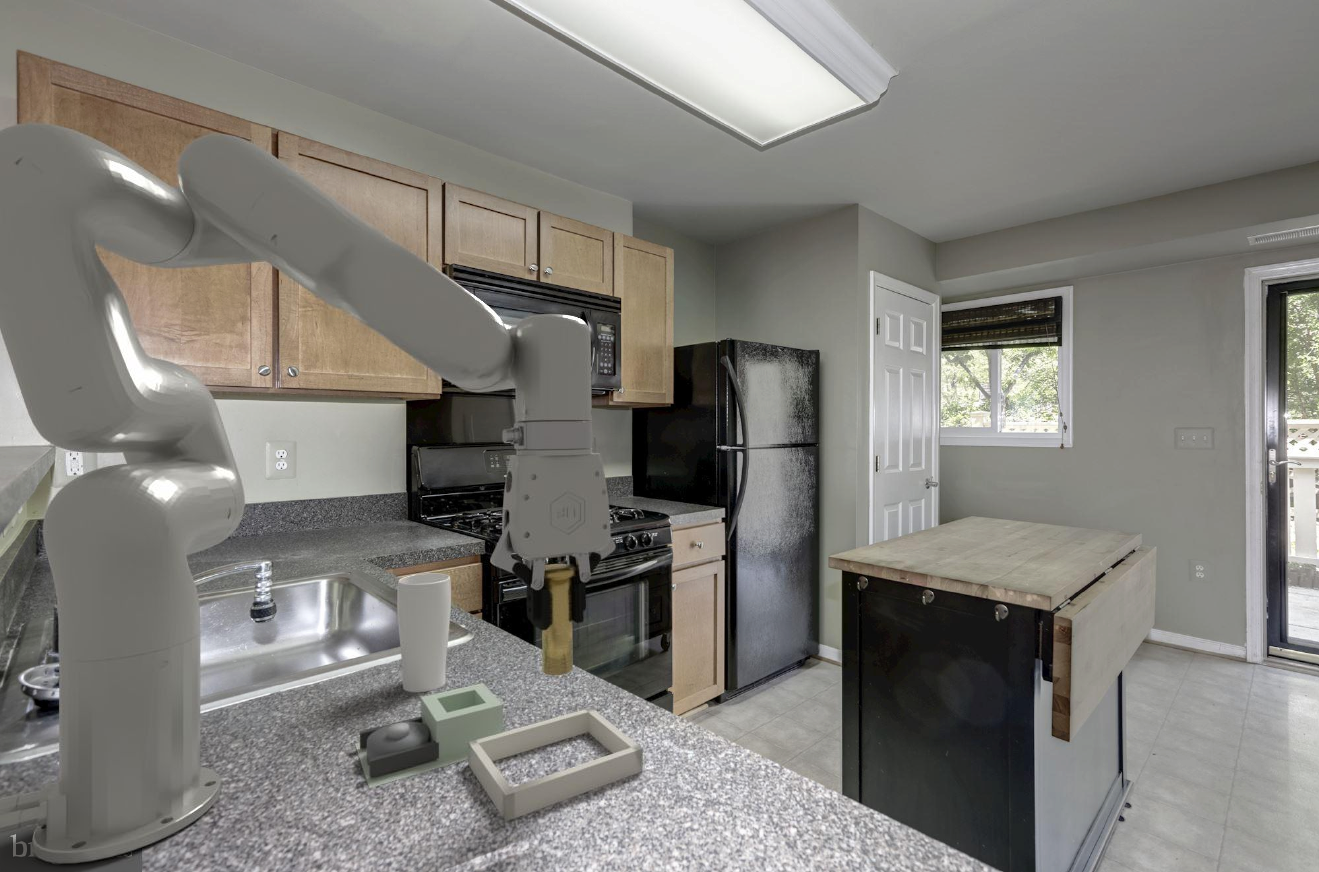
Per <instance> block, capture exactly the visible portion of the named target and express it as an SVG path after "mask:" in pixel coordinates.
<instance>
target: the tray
mask: <svg viewBox="0 0 1319 872" xmlns="http://www.w3.org/2000/svg"><path fill="white" fill-rule="evenodd" d="M586 733H589V735H591V736H592V737H594V739H596V740H597V741H598V742H599V743H600V744H601V745H603V746H604V747H605V748H606V749H607V750H608V751H609V752H610V753H611V754H608V755H605V756H602V757H600V758H596V759H593V760H590V761H587V762H584V763H581V764H579V765H576V766H573V767H569V768H566V769H563V770H561V771H558V772H555V773H551V774H549V775H546V776H543V777H540V778H538V779H534V780H530V781H528V782H525V783H521V784H518V785H516V786H512V787H511V785H510V784H509V783H508V782H507V780H506V779H505V777H504V776H503V775H502V773H501V772H500V770H499V769H498V768H497V766H496V765H495V764H494V762H495V761H498V760H502V759H504V758H508V757H512V756H514V755H517V754H520V753H524V752H528V751H531V750H534V749H538V748H541V747H544V746H547V745H550V744H553V743H554V744H555V743H557V742H560V741H563V740H567V739H569V738H574V737H576V736H580V735H583V734H586ZM643 753H644V752H643V748H642V747H641V746H640V745H639V744H638V743H636V742H635V741H634V740H633V739H632V738H631V737H629V736H628V735H626V734H625V733H624V732H623V731H622V730H620V729H619V728H618V727H617V726H615V725H614V724H613V723H611V722H610V721H609V720H607V719H606V718H605V717H604V716H603V715H601V714H600V713H599V712H597V711H596V709H594V708H593V707H588V708H586V709H581V710H578V711H575V712H572V713H568V714H564V715H561V716H556V717H554V718H550V719H545V720H543V721H539V722H536V723H535V722H534V723H531V724H529V725H525V726H521V727H517V728H513V729H511V730H507V731H503V733H499V734H496V735H492V736H489V737H485V738H482V739H478V740H474V741H471V742H468V759H467V761H468V762H467V763H468V766H469V768H470V769H471V771H472V772H473V774H474V775H475V777H476V778H477V780H478V782H479V783H480V784H481V787H483V789H484V790H485V793H486V794H487V795H488V797H489V798H490V800H491V801H492V803H493V804H494V806H495V808H496V809H497V810H498V812H499V813H500V816H501V817H502V818H503V820H504V821H505V822H508V821H511V820H515V819H516V818H519V817H522V816H524V815H527V814H530V813H533V812H535V811H538V810H540V809H544V808H546V807H548V806H552V805H554V804H557V803H560V802H562V801H565V800H569V799H570V798H573V797H576V796H579V795H582V794H584V793H587V792H590V791H593V790H596V789H599V788H601V787H604V786H606V785H609V784H611V783H614V782H617V781H620V780H623V779H625V778H628V777H631V776H633V775H636V774H639V773H642V772H643V771H644V767H643V764H644V763H643V759H644V758H643V755H644V754H643Z"/></svg>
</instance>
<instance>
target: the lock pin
mask: <svg viewBox="0 0 1319 872" xmlns="http://www.w3.org/2000/svg"><path fill="white" fill-rule="evenodd" d="M574 576H575V566H574V565H570V564H567V563H554V564H553V563H552V564H545V573H544V588H546V589H548V590H549V622H550V626H549V628H548V629H547V630H541V645H542V647H541V649H542V651H541V653H542V655H541V656H542V661H541V663H542V673H544V674H546V675H550V676H561V675H565V674H568V673H570V672H572V670H574V667H573V665H574V662H573V661H574V658H573V656H574V653H573V649H574V648H573V621H572V577H574Z"/></svg>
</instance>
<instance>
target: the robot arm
mask: <svg viewBox="0 0 1319 872" xmlns="http://www.w3.org/2000/svg"><path fill="white" fill-rule="evenodd" d="M176 174H177V175H176V176H177V180H178V185H170V184H168V183H166V182H165V181H163V180H162V179H160V178H159V177H158V176H156V175H154V174H152V172H149V171H148V170H146V169H145V168H144V167H142V166H141V165H139V163H136V162H135V161H133V160H132V159H130V158H129V157H128V156H125V155H124V154H123V153H121V152H119V151H118V150H116V149H114V148H112V146H110V145H107V144H105V143H104V142H102V141H100V140H98V139H96V138H94V137H92V136H90V135H87V134H85V133H83V132H80V131H78V130H75V129H72V128H68V127H64V126H61V125H57V124H54V123H53V124H50V123H43V122H25V123H17V124H14V125H11V126H7V127H6V128H3V129H1V130H0V334H1V337H2V340H3V342H4V345H5V348H6V351H7V354H8V357H9V360H10V363H11V366H12V370H13V372H14V375H15V378H16V381H17V384H18V387H19V390H20V394H21V395H22V399H23V402H24V405H25V408H26V412H27V413H28V416H29V418H30V421H31V423H32V424H33V425H34V428H36V431H37V432H38V434H39V435H40V436H41V437H42V438H43V439H44V440H45V441H47V442H49V443H50V444H51V445H53V446H54V447H57V448H60V449H63V450H66V451H71V452H77V453H91V454H99V453H100V454H101V453H103V454H107V453H108V454H112V453H113V454H115V453H116V454H118V453H122V454H123V457H124V460H125V462H126V463H121V464H114V465H109V466H103V467H100V468H96V469H93V470H90V471H88V472H86V473H83V474H81V475H79V476H77V477H76V478H74V479H72V480H71V481H69V482H68V483H67V484H65V485H63V487H62V488H61V489H60V490H59V491H57V492H56V494H55V495H54V497H53V498H52V499H51V501H50V502H49V504H48V506H47V509H46V510H45V513H44V518H43V525H42V536H43V545H44V548H45V553H46V556H47V559H48V563H49V567H50V571H51V575H52V578H53V584H54V588H55V596H56V602H57V604H56V605H57V618H58V621H57V622H58V658H59V660H58V662H59V663H58V665H59V666H58V667H59V668H58V670H59V671H58V672H59V673H58V674H59V675H58V682H59V683H58V684H59V685H58V689H59V690H58V693H59V696H58V706H59V707H58V709H59V711H58V719H59V720H58V723H59V724H58V725H59V726H58V733H59V734H58V735H59V736H58V778H57V780H56V781H53V782H50V783H44V785H43V786H42V788H41V789H38V790H34V791H30V792H26V793H16V794H12V795H8V796H7V795H6V796H3V797H0V834H3V833H6V832H7V833H8V832H10V831H14V830H18V829H21V828H23V827H27V826H31V825H35V824H37V827H36V828H35V830H34V831H33V834H32V841H31V842H32V853H33V854H34V855H35V856H36V858H38V859H41V860H43V861H44V862H48V863H54V864H55V863H56V864H79V863H87V862H94V861H99V860H103V859H108V858H113V857H115V856H116V857H117V856H119V855H123V854H126V853H130V852H132V851H135V850H138V849H140V848H143V847H146V846H149V845H151V844H154V843H156V842H158V841H160V840H162V839H165V838H168V837H169V836H171V835H173V834H175V833H177V832H179V831H180V830H182V829H184V828H185V827H187V826H188V825H190V824H192V823H194V822H195V821H197V819H199V818H201V817H202V816H203V815H204V814H206V813H207V812H208V811H209V809H210V808H212V806H213V805H215V803H216V802H217V800H218V799H219V797H220V795H221V790H222V786H221V785H222V784H221V777H220V775H219V774H218V772H216V771H215V770H213V769H211V768H208V767H204V766H201V609H200V608H201V607H200V599H199V594H198V589H197V586H196V583H195V582H196V581H195V580H194V577H193V575H192V572H191V569H190V566H189V563H188V557H187V556H189V555H193V554H196V553H199V552H202V551H204V550H208V549H210V548H212V547H214V546H215V547H216V545H219V544H220V543H223V542H224V541H225V540H226V539H228V537H229V538H230V536H231V535H232V534H233V533H234V532H235V531H236V529H237V528H238V527H239V525H240V524H241V521H242V519H243V516H244V513H245V507H246V506H245V505H246V500H245V490H244V487H243V486H244V485H243V482H242V478H241V475H240V472H239V469H238V466H237V462H236V460H235V457H234V454H233V450H232V448H231V447H232V446H231V444H230V441H229V439H228V435H227V432H226V429H225V426H224V423H223V420H222V416H221V414H220V411H219V409H218V408H219V407H218V405H217V403H216V401H215V398H214V396H213V395H212V393H211V392H210V390H209V389H208V387H207V386H206V384H205V383H204V382H203V381H202V379H200V377H198V376H197V375H196V374H195V373H194V372H192V371H190V370H189V369H187V368H186V367H184V366H182V365H180V364H178V363H175V362H171V361H169V360H165V359H162V358H156V357H151V356H150V355H148V354H147V353H146V351H145V349H144V347H143V345H142V344H141V342H140V339H139V338H138V334H137V332H136V330H135V328H134V325H133V321H132V318H131V313H130V311H129V308H128V304H127V300H126V299H125V297H124V294H123V292H122V290H121V288H120V286H118V284H117V283H116V280H115V279H114V278H113V276H112V275H111V273H110V272H109V270H108V269H107V267H106V266H105V264H104V263H103V261H102V260H101V259H100V256H99V254H98V251H97V249H96V247H98V248H101V249H103V250H105V251H107V252H110V253H112V254H115V255H117V256H119V257H122V258H125V259H127V260H128V261H129V260H130V261H132V262H134V263H137V264H140V265H145V266H149V267H154V268H162V269H184V268H197V267H198V268H199V267H201V268H202V267H213V266H226V265H239V264H253V263H254V264H255V263H262V262H263V263H265V262H266V263H268V264H269V265H270V266H272V267H273V268H275V269H276V270H278V271H279V272H281V273H283V275H285V276H287V277H288V278H289V279H291V280H292V281H294V282H295V283H296V284H298V285H300V286H302V287H303V288H304V289H305V290H306V291H308V292H310V293H311V294H313V295H314V296H315V297H317V298H319V299H320V300H322V301H323V302H325V303H326V304H327V305H329V306H330V307H333V308H335V309H338V310H341V311H343V312H345V313H347V314H348V315H349V316H352V317H353V318H354V319H356V320H358V321H359V322H361V323H362V324H363V325H365V326H366V327H368V328H369V329H371V330H372V331H374V332H375V333H377V335H379V336H381V337H383V339H386V340H387V341H388V342H390V343H391V344H393V345H394V346H395V347H397V348H399V350H401V351H402V352H404V353H406V354H407V355H408V356H410V357H411V358H413V359H414V360H416V361H417V362H418V363H421V364H422V365H423V366H425V367H426V368H428V369H429V370H430V371H431V372H433V373H435V374H436V375H437V376H438V377H441V378H442V379H444V380H445V381H448V382H449V383H451V384H453V385H455V386H456V387H458V388H459V389H462V390H463V391H468V392H472V393H473V392H474V393H488V392H489V393H490V392H494V391H504V390H510V389H515V422H514V423H513V427H511V428H508V429H506V428H505V429H503V430H502V437H501V438H502V442H503V443H504V444H511V445H513V447H514V450H516V454H512V455H510V456H509V459H508V460H509V461H508V466H507V470H506V471H507V472H506V477H505V483H504V484H505V485H504V491H503V501H502V502H503V505H502V519H501V520H502V523H501V525H502V527H501V532H502V534H501V536H500V537H499V539H498V542H497V544H496V545H495V548H494V550H493V552H492V554H491V557H490V558H489V559H490V561H489V562H490V563H491V564H492V565H493V566H495V567H496V568H499V569H502V570H504V571H507V572H508V573H512V574H513V575H514V576H515V577H517V579H519V580H520V581H521V583H522V584H523V585H525V586H526V615H527V616H526V617H527V619H528V620H529V621H530V623H531V624H532V625H533V626H534V627H536V628H538V629H539V630H540V631H542V630H547V629H548V628H549V626H550V622H549V590H548V589H546V588H544V573H545V565H546V561H547V560H546V559H552V558H558V557H559V558H560V557H566V560H567V562H566V564H570V565H574V566H575V576H574V577H572V622H574V623H577V624H580V623H584V618H585V617H584V616H585V615H584V612H585V611H586V609H587V589H586V587H587V585H586V584H587V582H589V581H590V579H591V576H592V573H593V572H594V570H595V569H596V568H597V566H598V565H599V563H600V562H601V560H603V559H606V557H608V556H609V555H610V554H612V553H613V552H614V551H615V550H616V543H615V541H614V540H613V537H612V535H611V518H610V517H611V515H610V504H609V495H608V488H607V487H608V486H607V480H606V474H605V470H604V466H603V460H602V456H601V454H600V453H599V452H597V453H595V452H593V427H592V426H593V424H592V423H593V422H592V420H593V419H592V418H593V417H592V415H593V414H592V409H593V408H592V355H591V354H592V347H591V346H592V344H591V343H592V342H591V330H590V327H589V326H588V324H587V323H586V322H585V321H584V320H583V319H581V318H578V317H576V316H573V315H567V314H559V313H558V314H557V313H552V314H551V313H549V314H548V313H544V314H542V313H541V314H534V315H530V316H526V317H524V318H522V319H521V320H519V322H518V323H517V324H510V323H505V322H504V321H503V320H502V319H501V317H500V316H499V315H498V313H496V312H495V310H493V309H492V308H491V307H490V306H489V305H487V304H486V303H485V302H483V301H482V300H481V299H479V298H478V297H477V296H475V295H474V293H473V294H472V292H469V291H468V290H467V289H466V288H464V287H463V286H461V285H460V284H458V283H457V282H456V281H454V280H453V279H451V278H450V277H449V276H448V275H446V274H445V273H443V272H442V271H440V270H439V269H438V268H436V267H434V265H431V264H430V263H429V262H427V261H426V260H424V259H423V258H422V257H420V256H418V255H417V254H415V253H414V252H413V251H411V250H409V249H408V248H406V247H404V246H403V245H401V244H400V243H398V242H396V241H395V240H394V239H392V238H391V237H389V236H388V235H387V234H386V233H384V232H383V231H380V230H379V229H378V228H376V227H375V226H373V225H372V224H370V223H369V222H368V221H366V220H365V219H363V218H362V217H360V216H358V215H357V214H356V213H355V212H353V211H352V210H350V209H349V208H347V207H346V206H344V204H341V203H340V202H339V201H338V200H336V199H335V198H333V197H332V196H330V195H329V194H328V193H326V192H325V191H323V190H322V189H321V188H319V186H316V185H315V184H314V183H313V182H311V181H309V180H308V179H306V178H305V177H304V176H303V175H301V174H300V173H298V172H297V171H296V170H294V169H293V168H291V167H290V166H288V165H287V164H286V163H285V162H283V161H282V160H280V159H279V158H278V157H276V156H275V155H274V154H271V153H270V152H269V151H267V150H265V149H264V148H262V147H261V146H259V145H257V144H255V143H253V142H251V141H249V140H247V139H244V138H242V137H239V136H237V135H231V134H226V133H211V134H210V133H209V134H205V135H203V136H200V137H198V138H197V137H196V138H195V139H194V140H192V141H191V142H189V143H188V144H187V145H186V146H185V147H184V149H183V150H182V151H181V153H180V156H179V158H178V162H177V171H176ZM512 554H517V555H518V556H519V557H520V558H522V562H521V561H519V560H516V559H514V558H512V557H513V556H512Z"/></svg>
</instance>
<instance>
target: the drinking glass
mask: <svg viewBox="0 0 1319 872" xmlns="http://www.w3.org/2000/svg"><path fill="white" fill-rule="evenodd" d="M451 582H452V581H451V576H450V575H448V574H445V573H440V572H439V573H436V572H434V573H432V572H430V573H418V574H411V575H407V576H404V577H401V578H399V579H398V581H397V589H396V590H397V592H396V593H397V594H396V595H397V596H396V601H397V602H396V607H397V608H396V611H397V623H398V624H397V626H398V634H399V643H400V645H399V646H400V655H401V657H400V658H401V665H402V666H401V668H402V689H403V690H404V691H405V692H408V693H425V692H430V691H434V690H437V689H440V688H441V687H443V686H444V685H445V684H446V680H447V679H446V675H447V671H446V670H447V657H448V656H447V655H448V647H449V646H448V644H449V635H450V634H449V633H450V624H451V623H450V621H451V612H452V611H451V609H452V586H451V584H452V583H451Z"/></svg>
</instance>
